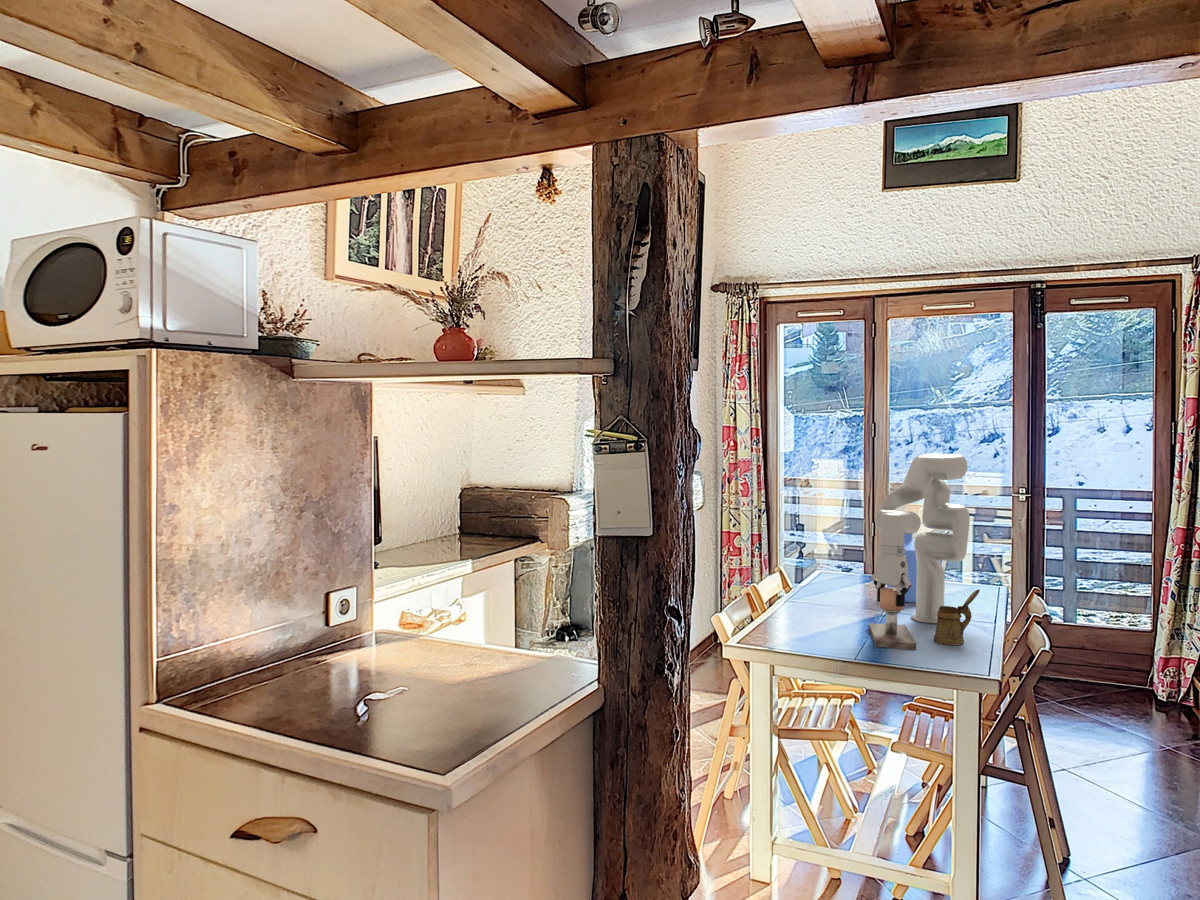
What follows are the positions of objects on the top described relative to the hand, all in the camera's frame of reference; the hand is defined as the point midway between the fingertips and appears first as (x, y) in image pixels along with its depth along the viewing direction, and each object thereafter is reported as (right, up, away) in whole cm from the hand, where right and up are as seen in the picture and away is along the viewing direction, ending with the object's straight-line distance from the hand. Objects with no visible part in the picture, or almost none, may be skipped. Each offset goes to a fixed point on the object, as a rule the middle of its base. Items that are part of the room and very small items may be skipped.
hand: (890, 603), depth 275 cm
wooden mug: (+20, -12, -4) cm, 24 cm away
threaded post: (0, -10, +1) cm, 10 cm away
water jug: (+28, -10, +62) cm, 69 cm away
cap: (0, -1, 0) cm, 2 cm away
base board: (0, -12, +1) cm, 12 cm away
